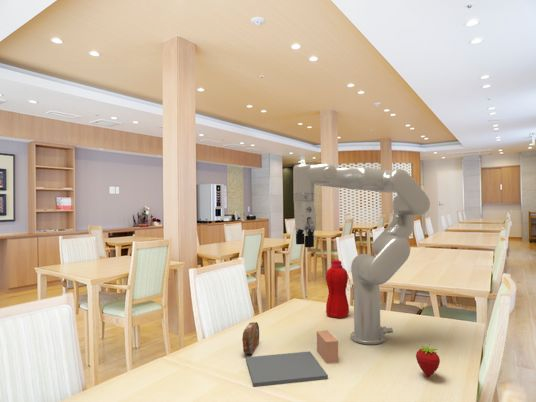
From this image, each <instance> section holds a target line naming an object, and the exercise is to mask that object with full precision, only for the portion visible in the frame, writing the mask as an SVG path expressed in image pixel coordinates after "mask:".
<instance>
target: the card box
mask: <svg viewBox="0 0 536 402" xmlns="http://www.w3.org/2000/svg"><path fill="white" fill-rule="evenodd" d="M316 353H317V354H318V355H319V356H320V357H321V358H322V360H323V361H324V363H326V364H333V363H334V364H335V363H336V364H337V363H339V341H338V339H336V337H334V335H333V334H332V333H331V332H330V331H329V330H318V331H316Z"/></svg>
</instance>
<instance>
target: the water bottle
mask: <svg viewBox="0 0 536 402" xmlns="http://www.w3.org/2000/svg"><path fill="white" fill-rule="evenodd" d="M330 263H331V267H329V268H328V269H327V271H326V273H325V281H326V286H327V289H328V290H327V291H328V295H327V301H326V304H325V305H326V306H325V313H326V316H328V317H329V318H335V319H344V318H345V317H347V316H349V312H350V309H349V308H350V305H349V301H348V297H347V291H349V292H350V290H351V288H352V287H351V284H349V289H348V285H347V284H348V281H349V283H351V280H350V277H349V274H348V271H347V269H345V268H344V267H343V265H342V260H339V259H334V260H331V262H330Z"/></svg>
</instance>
